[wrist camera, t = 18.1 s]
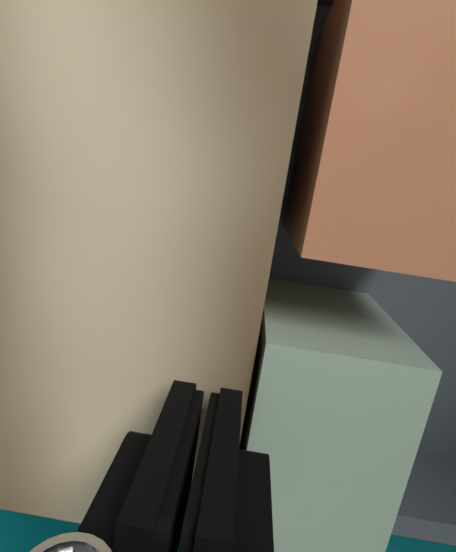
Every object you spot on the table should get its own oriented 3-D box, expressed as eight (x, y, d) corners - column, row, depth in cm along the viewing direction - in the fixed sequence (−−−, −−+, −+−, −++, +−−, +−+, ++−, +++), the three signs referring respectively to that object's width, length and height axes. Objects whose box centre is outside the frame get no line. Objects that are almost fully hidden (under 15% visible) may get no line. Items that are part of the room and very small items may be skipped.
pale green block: (262, 277, 15) (368, 293, 14) (238, 414, 16) (334, 430, 16) (266, 343, 9) (442, 371, 9) (229, 547, 10) (378, 574, 10)
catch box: (690, 29, 12) (894, -41, 8) (510, 476, 16) (589, 569, 13) (307, -20, 12) (330, -109, 9) (231, 429, 17) (224, 505, 13)
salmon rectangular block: (316, 40, 13) (440, 58, 12) (282, 224, 14) (392, 241, 14) (367, -76, 7) (601, -46, 7) (300, 257, 8) (490, 286, 8)
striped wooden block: (304, -3, 13) (345, -157, 7) (233, 419, 17) (221, 548, 11) (-135, -60, 13) (-447, -249, 7) (-99, 363, 17) (-281, 458, 11)
